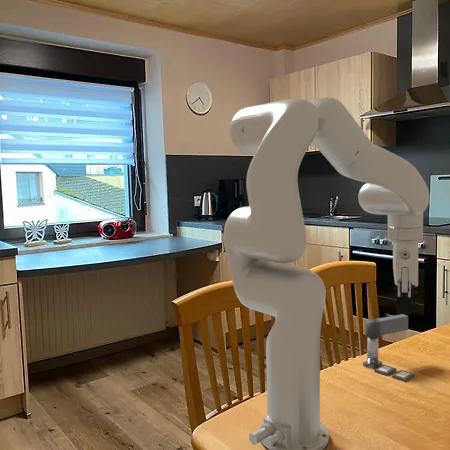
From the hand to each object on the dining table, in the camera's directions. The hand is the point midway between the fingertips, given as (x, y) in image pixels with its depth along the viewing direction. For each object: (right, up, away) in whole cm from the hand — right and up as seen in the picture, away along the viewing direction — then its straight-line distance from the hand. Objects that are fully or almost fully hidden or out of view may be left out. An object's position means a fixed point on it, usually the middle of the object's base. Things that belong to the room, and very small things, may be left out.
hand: (403, 313), depth 108 cm
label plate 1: (-3, -15, +5) cm, 16 cm away
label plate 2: (0, -15, +1) cm, 15 cm away
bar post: (-5, -15, +8) cm, 17 cm away
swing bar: (-1, -7, +9) cm, 11 cm away
